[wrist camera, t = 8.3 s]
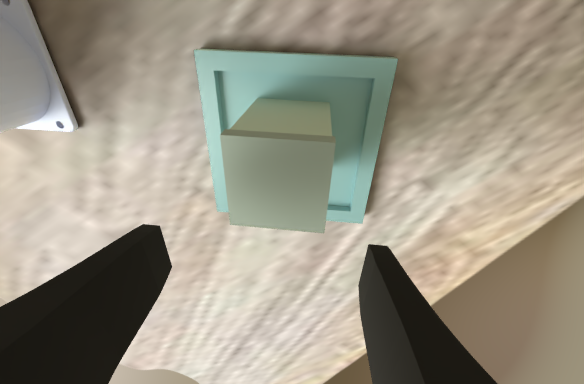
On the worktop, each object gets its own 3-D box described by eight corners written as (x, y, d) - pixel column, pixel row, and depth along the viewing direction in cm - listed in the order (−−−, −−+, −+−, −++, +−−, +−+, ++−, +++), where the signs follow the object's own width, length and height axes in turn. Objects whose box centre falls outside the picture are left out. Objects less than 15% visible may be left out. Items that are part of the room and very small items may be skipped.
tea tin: (258, 164, 19) (230, 224, 13) (255, 96, 16) (219, 134, 11) (323, 169, 19) (324, 233, 13) (331, 100, 16) (335, 142, 10)
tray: (221, 203, 22) (217, 211, 21) (200, 48, 16) (193, 49, 15) (360, 215, 21) (362, 223, 20) (393, 56, 15) (398, 59, 14)
